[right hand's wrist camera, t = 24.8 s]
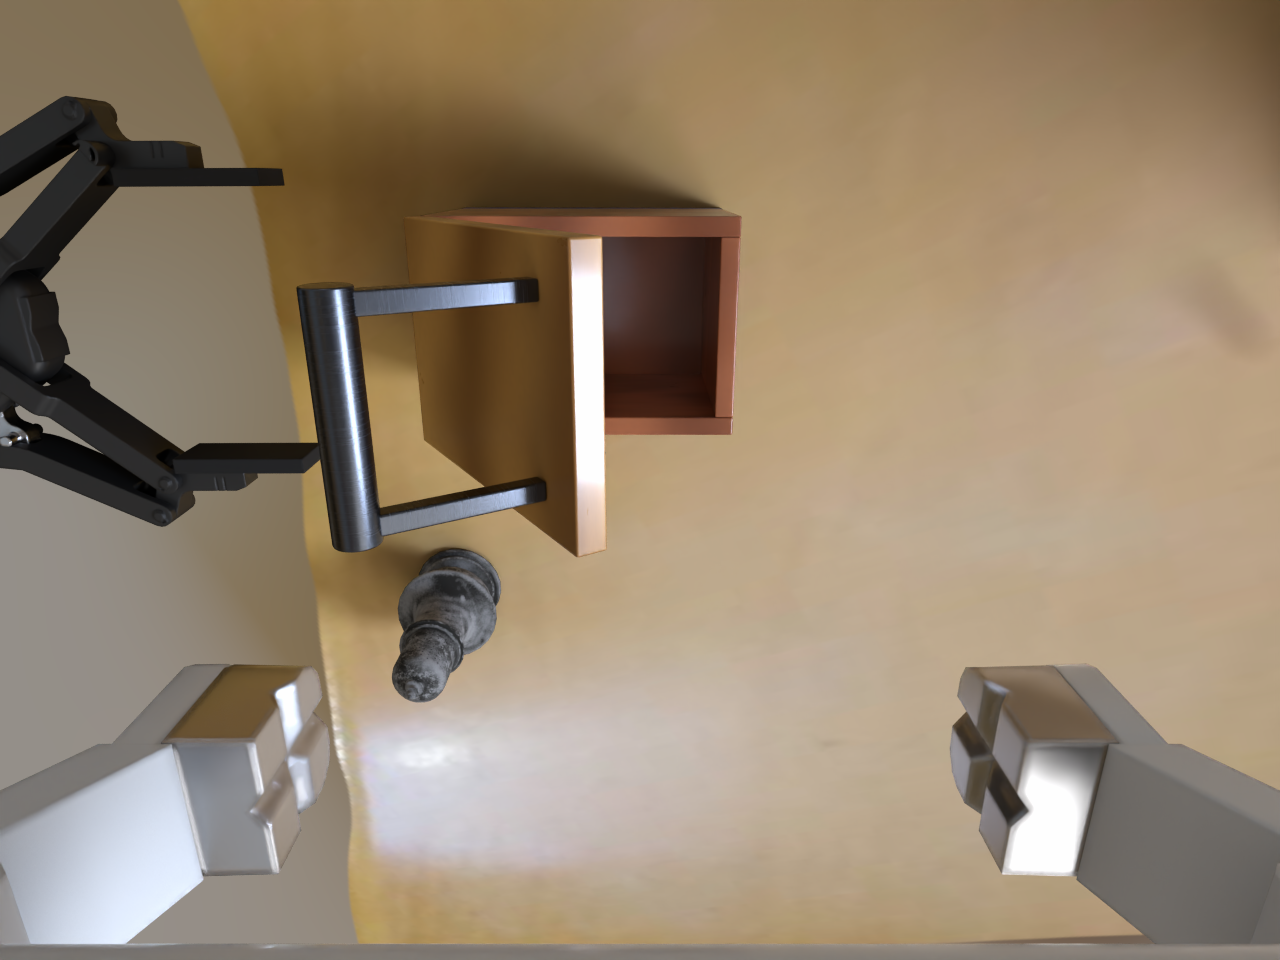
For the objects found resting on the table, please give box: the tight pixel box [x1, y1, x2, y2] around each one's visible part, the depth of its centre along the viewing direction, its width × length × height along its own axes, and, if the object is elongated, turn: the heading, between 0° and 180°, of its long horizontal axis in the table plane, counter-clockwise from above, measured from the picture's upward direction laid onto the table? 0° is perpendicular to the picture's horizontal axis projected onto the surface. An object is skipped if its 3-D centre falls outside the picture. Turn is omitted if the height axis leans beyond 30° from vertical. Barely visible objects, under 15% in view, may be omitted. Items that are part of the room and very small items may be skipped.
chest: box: [422, 208, 741, 435], centre depth 42 cm, size 14×10×10 cm
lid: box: [296, 216, 606, 557], centre depth 29 cm, size 15×10×8 cm
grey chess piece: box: [392, 549, 501, 702], centre depth 47 cm, size 6×6×12 cm
